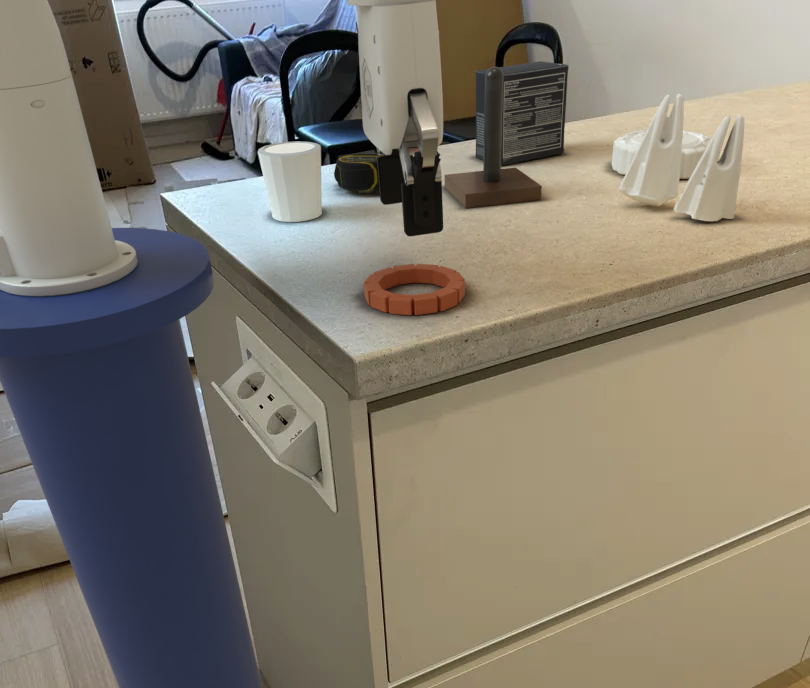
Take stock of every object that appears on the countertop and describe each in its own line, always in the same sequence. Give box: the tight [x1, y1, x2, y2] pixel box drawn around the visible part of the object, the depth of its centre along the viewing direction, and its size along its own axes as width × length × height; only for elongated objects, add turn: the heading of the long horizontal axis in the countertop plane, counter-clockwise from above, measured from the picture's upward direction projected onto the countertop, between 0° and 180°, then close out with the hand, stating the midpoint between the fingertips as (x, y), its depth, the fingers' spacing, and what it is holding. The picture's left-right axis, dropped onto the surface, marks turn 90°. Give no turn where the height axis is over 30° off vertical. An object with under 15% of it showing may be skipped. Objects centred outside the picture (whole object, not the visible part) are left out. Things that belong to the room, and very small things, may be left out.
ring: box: [363, 263, 466, 316], centre depth 70 cm, size 9×9×1 cm
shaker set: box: [619, 93, 745, 222], centre depth 82 cm, size 12×4×11 cm, turn 47°
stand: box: [444, 66, 543, 209], centre depth 90 cm, size 9×9×13 cm
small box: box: [475, 60, 570, 167], centre depth 105 cm, size 11×6×10 cm, turn 118°
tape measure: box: [333, 153, 384, 194], centre depth 97 cm, size 7×7×4 cm
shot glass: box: [257, 140, 323, 223], centre depth 89 cm, size 7×7×7 cm
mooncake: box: [610, 129, 712, 180], centre depth 99 cm, size 12×12×4 cm
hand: (410, 216), depth 70 cm, fingers open, 9 cm apart
